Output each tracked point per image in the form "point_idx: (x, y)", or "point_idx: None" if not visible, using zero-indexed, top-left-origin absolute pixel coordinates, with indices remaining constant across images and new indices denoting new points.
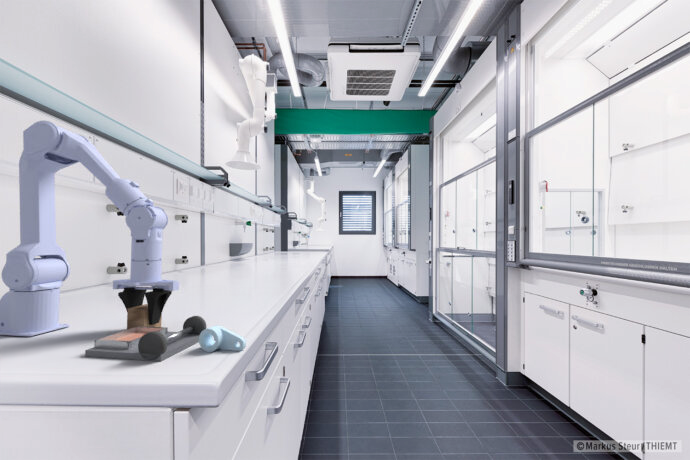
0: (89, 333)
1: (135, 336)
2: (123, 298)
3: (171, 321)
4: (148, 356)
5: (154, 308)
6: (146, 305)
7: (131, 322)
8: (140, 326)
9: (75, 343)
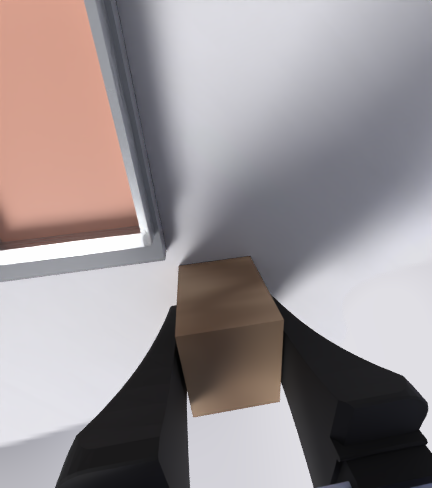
0: (377, 213)
1: (76, 170)
2: (352, 369)
3: None
4: None
5: (142, 364)
6: (251, 388)
7: (239, 280)
8: (131, 243)
9: (329, 92)
